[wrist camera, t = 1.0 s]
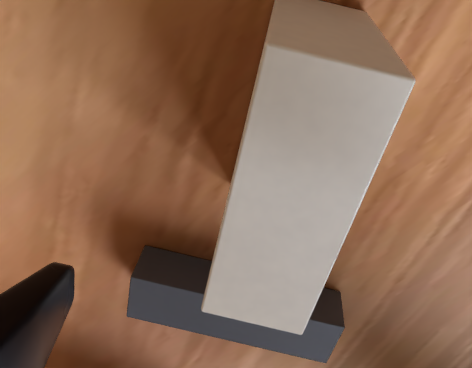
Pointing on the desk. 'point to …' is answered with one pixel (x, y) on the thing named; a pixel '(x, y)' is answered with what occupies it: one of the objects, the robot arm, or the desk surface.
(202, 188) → the desk surface
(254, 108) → the plain white rectangular box
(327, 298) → the dark grey square prism
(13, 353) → the robot arm
